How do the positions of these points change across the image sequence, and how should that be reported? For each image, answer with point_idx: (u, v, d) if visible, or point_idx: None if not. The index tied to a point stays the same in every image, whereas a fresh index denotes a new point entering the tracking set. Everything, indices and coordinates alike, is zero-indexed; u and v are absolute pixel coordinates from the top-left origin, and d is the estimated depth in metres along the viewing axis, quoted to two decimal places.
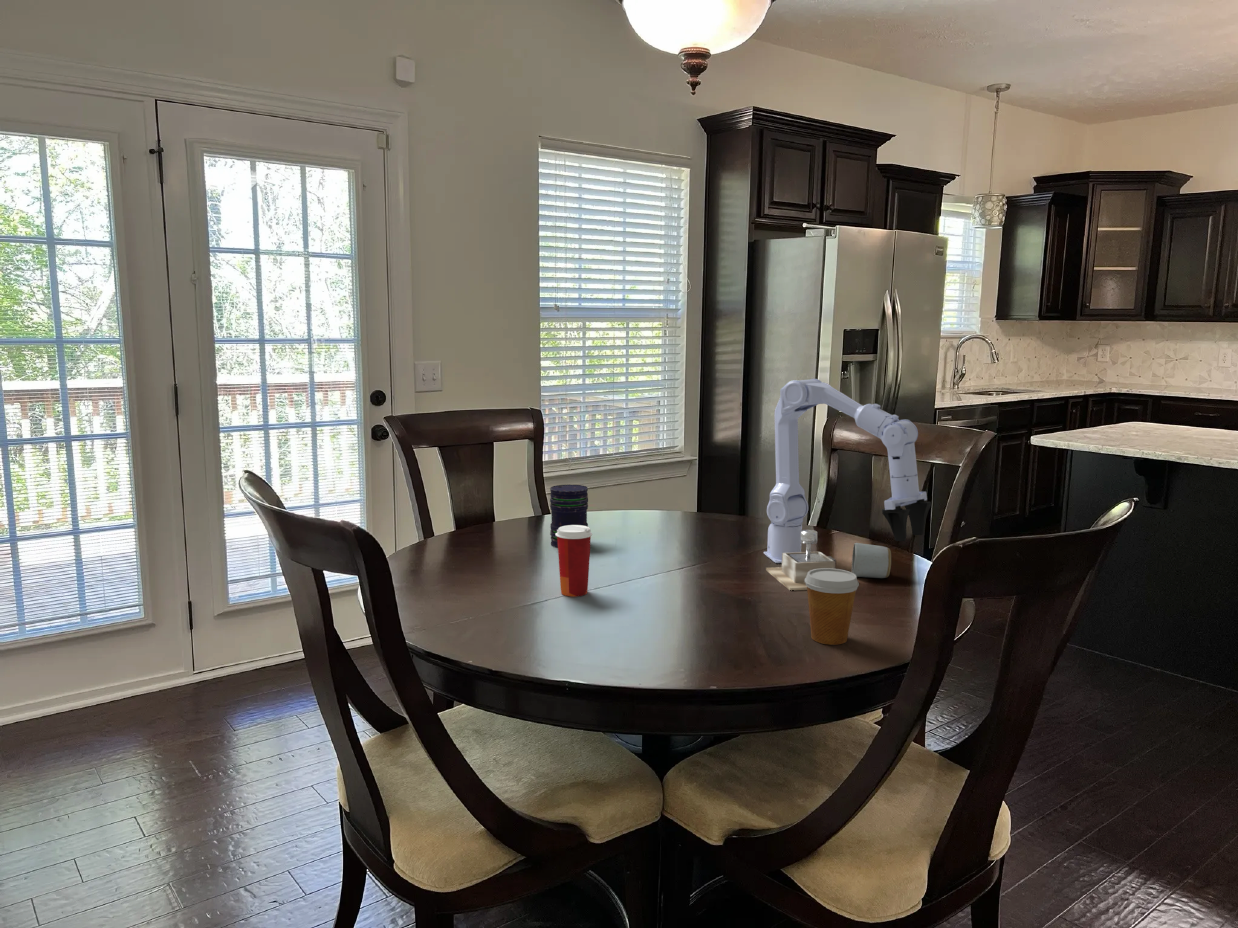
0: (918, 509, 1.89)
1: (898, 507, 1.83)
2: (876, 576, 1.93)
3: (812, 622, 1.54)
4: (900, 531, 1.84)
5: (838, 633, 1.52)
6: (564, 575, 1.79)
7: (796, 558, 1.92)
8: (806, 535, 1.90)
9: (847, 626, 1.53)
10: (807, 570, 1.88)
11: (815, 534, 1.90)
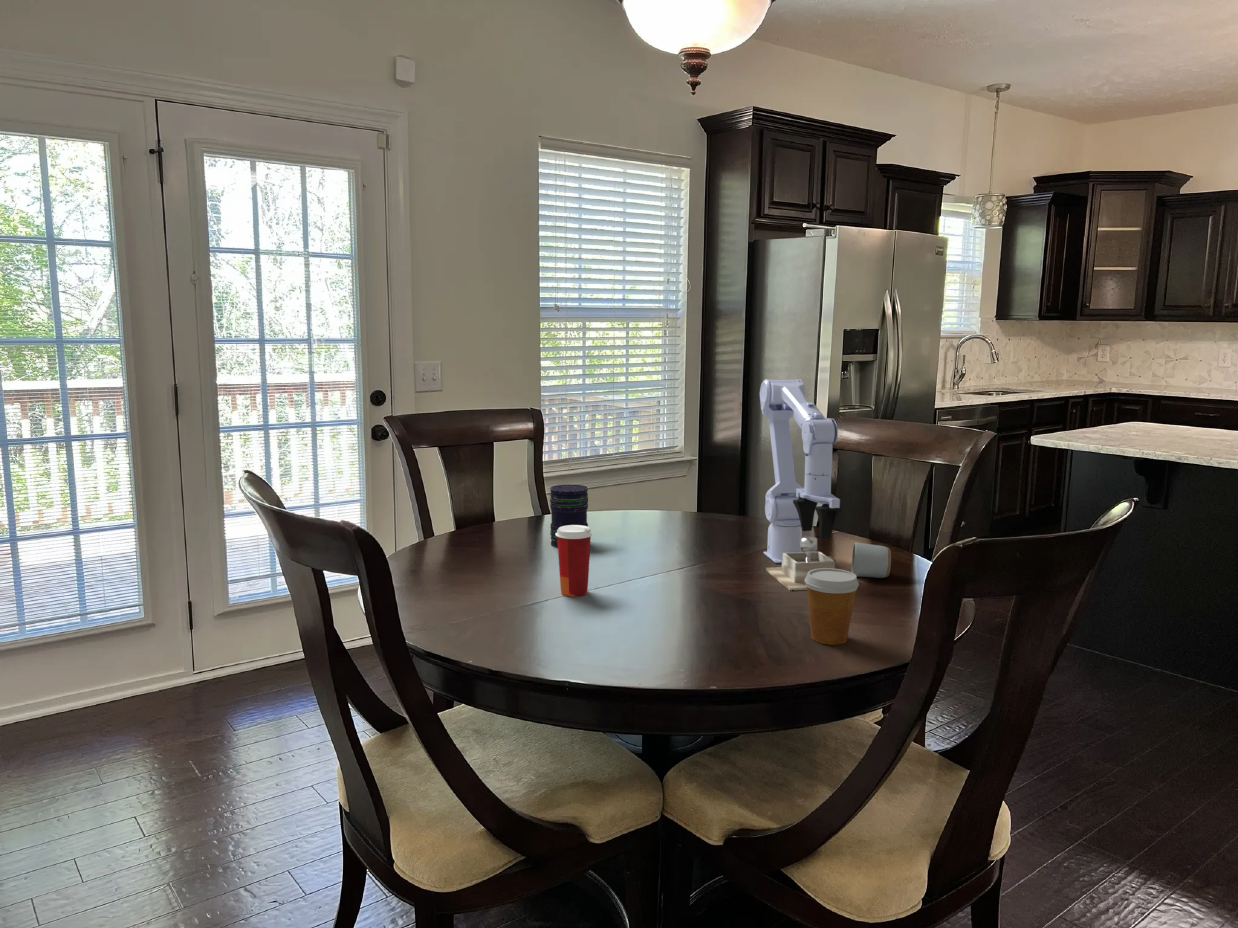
0: None
1: (802, 497, 1.94)
2: (876, 576, 1.93)
3: (812, 622, 1.54)
4: None
5: (838, 633, 1.52)
6: (564, 575, 1.79)
7: None
8: (806, 542, 1.90)
9: (847, 626, 1.53)
10: (807, 570, 1.88)
11: (815, 541, 1.91)
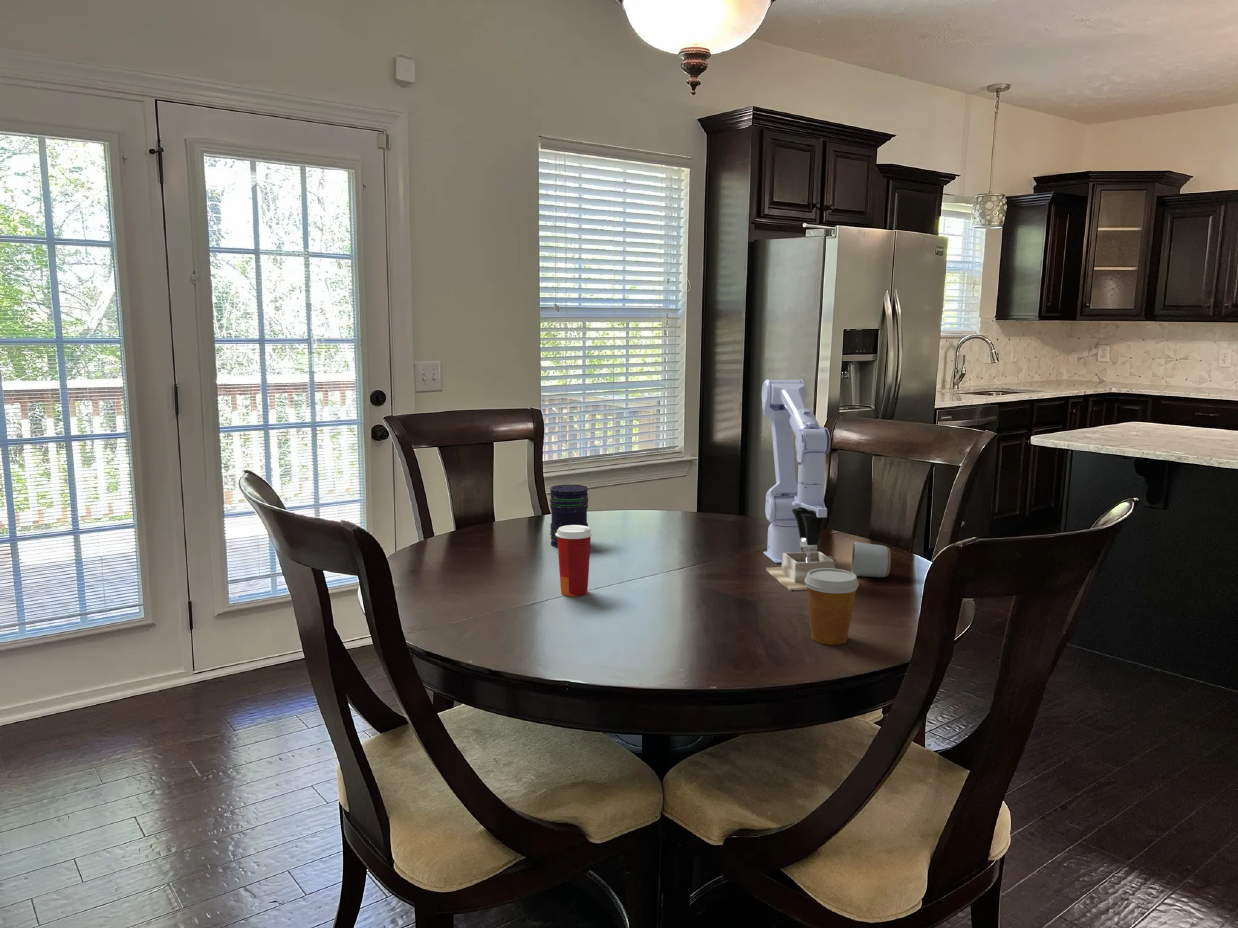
0: None
1: (801, 507, 1.94)
2: (876, 575, 1.93)
3: (812, 622, 1.54)
4: None
5: (838, 633, 1.52)
6: (564, 575, 1.79)
7: None
8: (806, 542, 1.90)
9: (847, 626, 1.53)
10: (807, 570, 1.88)
11: None
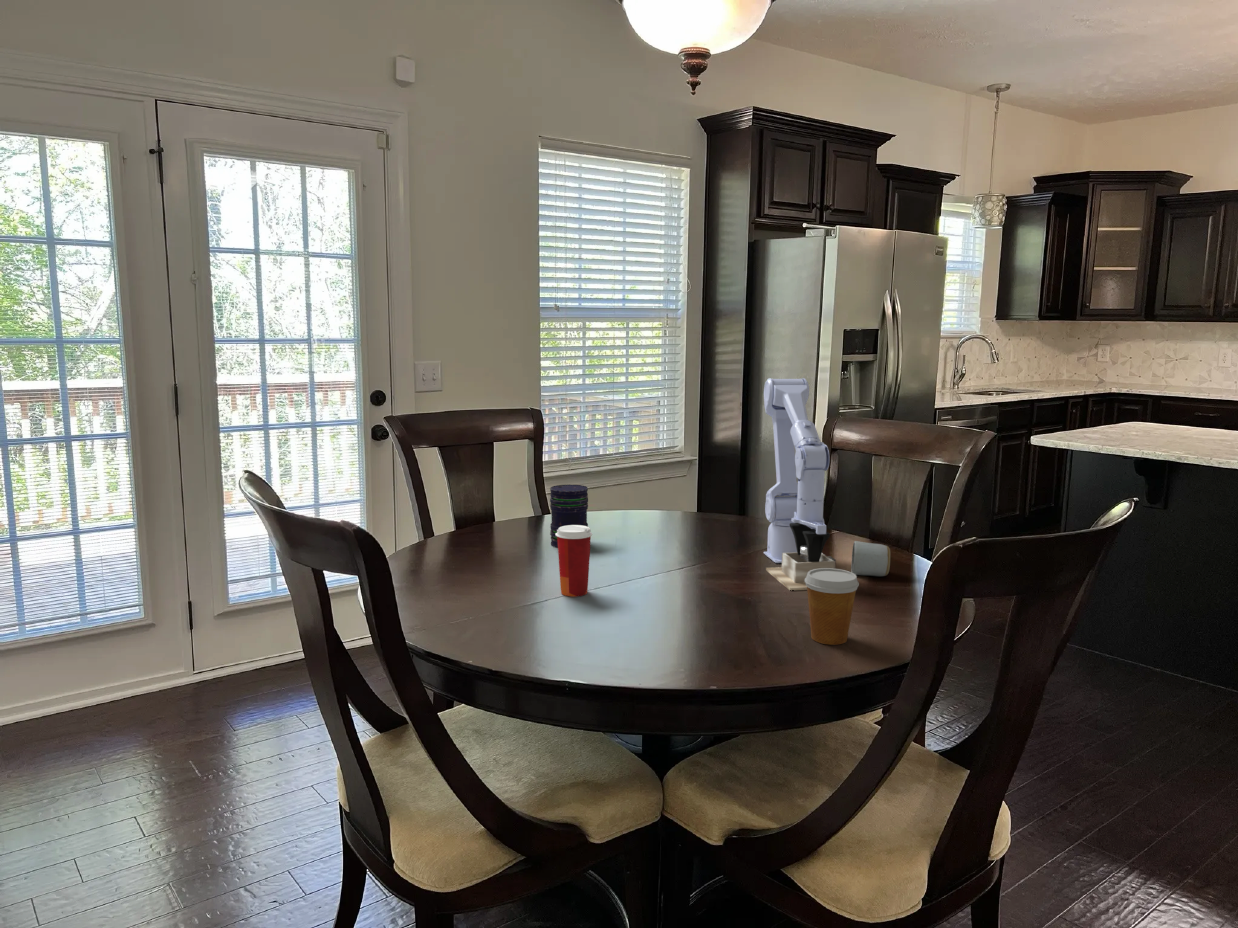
0: None
1: None
2: (875, 574, 1.94)
3: (812, 622, 1.54)
4: None
5: (838, 633, 1.52)
6: (564, 575, 1.79)
7: None
8: (805, 550, 1.91)
9: (847, 626, 1.53)
10: (807, 570, 1.88)
11: None
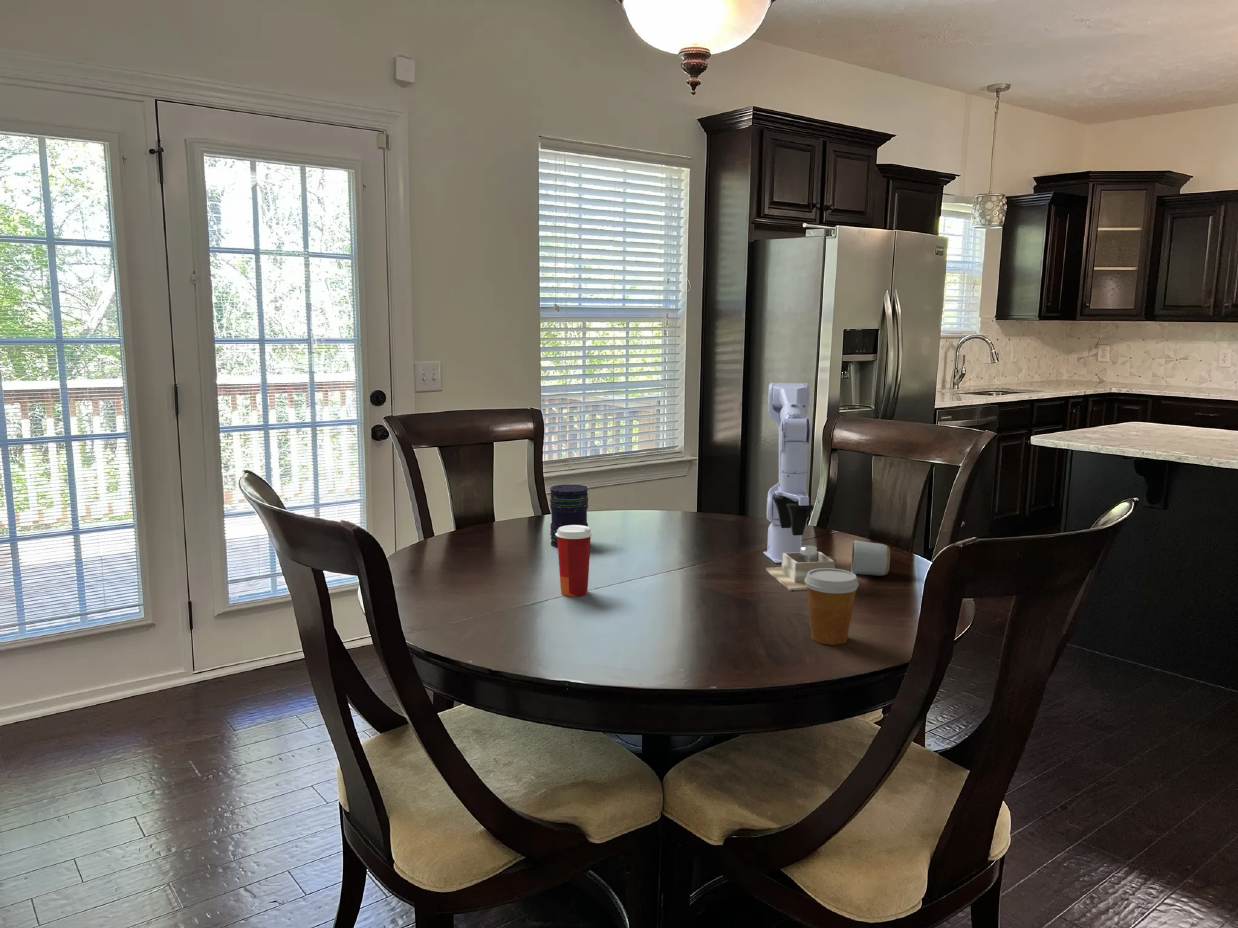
0: None
1: (781, 495, 1.97)
2: (875, 573, 1.95)
3: (812, 622, 1.54)
4: None
5: (838, 633, 1.52)
6: (564, 575, 1.79)
7: None
8: (805, 550, 1.91)
9: (847, 626, 1.53)
10: (807, 570, 1.88)
11: (814, 550, 1.91)
